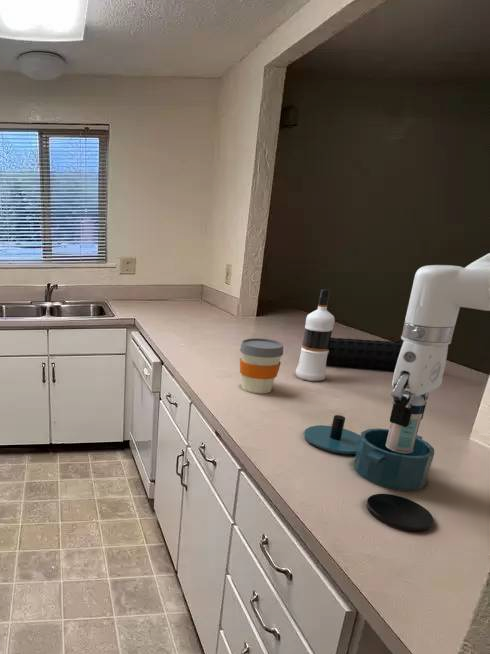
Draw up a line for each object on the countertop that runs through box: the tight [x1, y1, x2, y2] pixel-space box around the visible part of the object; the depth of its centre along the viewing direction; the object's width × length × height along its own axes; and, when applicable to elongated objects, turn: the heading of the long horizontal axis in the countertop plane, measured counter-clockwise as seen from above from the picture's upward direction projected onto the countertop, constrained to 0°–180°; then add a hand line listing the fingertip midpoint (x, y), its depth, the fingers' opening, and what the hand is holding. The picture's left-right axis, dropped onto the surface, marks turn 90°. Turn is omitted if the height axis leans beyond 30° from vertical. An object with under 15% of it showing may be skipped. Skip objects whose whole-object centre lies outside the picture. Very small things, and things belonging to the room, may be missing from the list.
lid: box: [303, 414, 361, 455], centre depth 104 cm, size 14×14×7 cm
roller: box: [326, 337, 404, 371], centre depth 158 cm, size 38×10×10 cm, turn 71°
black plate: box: [366, 493, 435, 533], centre depth 79 cm, size 10×10×1 cm
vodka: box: [295, 288, 336, 382], centre depth 144 cm, size 9×9×30 cm
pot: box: [353, 428, 435, 492], centre depth 91 cm, size 13×18×8 cm
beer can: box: [386, 394, 426, 454], centre depth 88 cm, size 5×5×12 cm
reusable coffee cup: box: [239, 337, 284, 394], centre depth 137 cm, size 12×13×15 cm
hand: (405, 419), depth 88 cm, fingers closed on beer can, 4 cm apart
